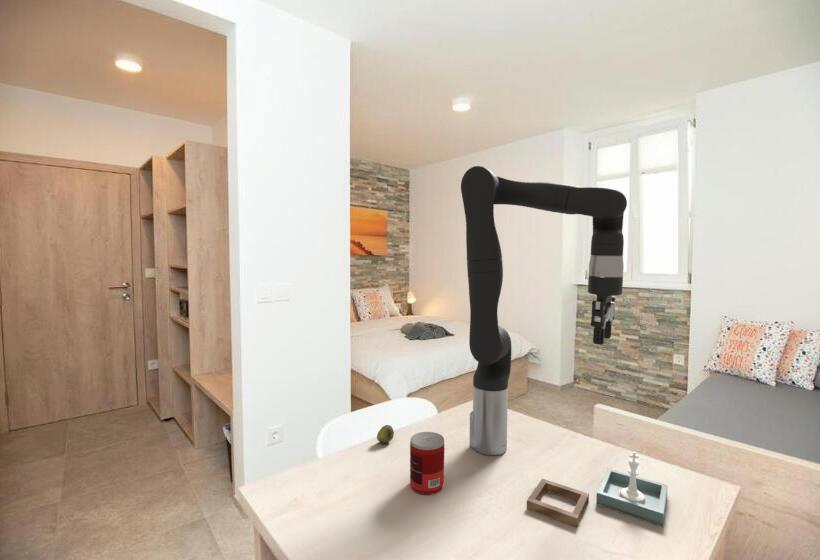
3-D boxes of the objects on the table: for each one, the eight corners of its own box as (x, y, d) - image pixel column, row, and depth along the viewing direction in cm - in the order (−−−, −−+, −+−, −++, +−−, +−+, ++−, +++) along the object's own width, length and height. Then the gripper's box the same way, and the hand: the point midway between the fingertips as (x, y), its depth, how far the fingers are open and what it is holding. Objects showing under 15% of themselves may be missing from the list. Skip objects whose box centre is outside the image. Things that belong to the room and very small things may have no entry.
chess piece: (649, 505, 85) (651, 459, 84) (623, 502, 85) (625, 456, 85) (640, 492, 89) (642, 448, 89) (616, 489, 90) (618, 445, 90)
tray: (596, 504, 86) (596, 492, 86) (607, 478, 96) (607, 468, 96) (662, 526, 79) (663, 513, 79) (667, 496, 89) (667, 485, 89)
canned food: (448, 480, 95) (449, 434, 94) (436, 499, 88) (436, 450, 87) (418, 473, 98) (418, 428, 97) (404, 490, 91) (404, 443, 90)
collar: (526, 508, 85) (526, 500, 84) (541, 486, 93) (542, 478, 93) (577, 527, 79) (577, 518, 79) (588, 501, 87) (589, 493, 87)
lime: (375, 445, 112) (375, 427, 112) (380, 437, 117) (380, 420, 117) (391, 447, 111) (391, 429, 111) (395, 439, 116) (395, 422, 116)
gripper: (595, 272, 106) (592, 334, 107) (581, 275, 94) (578, 344, 95) (627, 274, 101) (624, 338, 102) (617, 276, 90) (613, 349, 91)
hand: (602, 341), depth 99 cm, fingers open, 8 cm apart
